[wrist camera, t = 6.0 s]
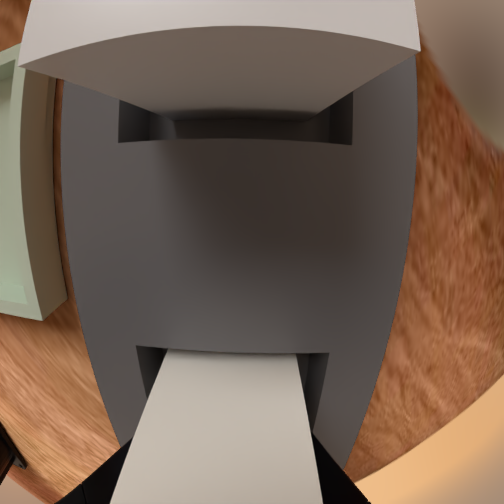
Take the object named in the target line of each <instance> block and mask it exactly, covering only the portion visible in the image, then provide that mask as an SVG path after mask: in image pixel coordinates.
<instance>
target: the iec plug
mask: <svg viewBox="0 0 504 504" xmlns="http://www.w3.org/2000/svg"><path fill="white" fill-rule="evenodd" d="M110 504H323V501H322V495H321V489H320V483H319V477H318V471H317V466H316V460H315V454H314V449H313V443H312V437H311V432H310V427H309V421H308V416H307V410H306V405H305V400H304V394H303V389H302V384H301V379H300V374H299V368H298V363H297V358H296V353H236V352H213V351H196V350H182V349H170V348H168V350H167V353H166V355H165V358H164V360H163V363H162V365H161V368H160V370H159V373H158V375H157V378H156V380H155V383H154V385H153V388H152V390H151V393H150V395H149V398H148V401H147V403H146V406H145V408H144V411H143V414H142V416H141V419H140V421H139V424H138V427H137V429H136V432H135V435H134V437H133V440H132V443H131V445H130V448H129V451H128V454H127V456H126V459H125V462H124V465H123V468H122V470H121V473H120V476H119V479H118V482H117V485H116V487H115V490H114V493H113V496H112V499H111V502H110Z"/></svg>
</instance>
